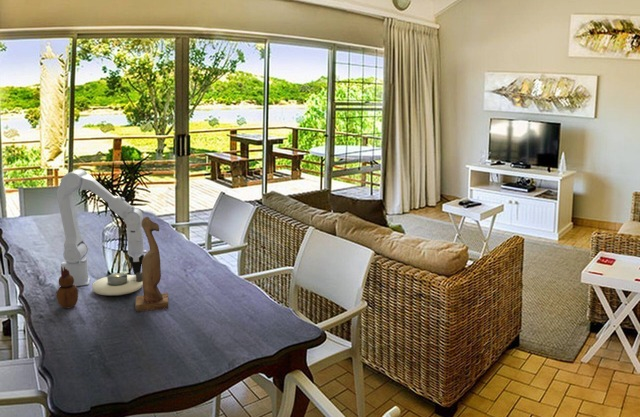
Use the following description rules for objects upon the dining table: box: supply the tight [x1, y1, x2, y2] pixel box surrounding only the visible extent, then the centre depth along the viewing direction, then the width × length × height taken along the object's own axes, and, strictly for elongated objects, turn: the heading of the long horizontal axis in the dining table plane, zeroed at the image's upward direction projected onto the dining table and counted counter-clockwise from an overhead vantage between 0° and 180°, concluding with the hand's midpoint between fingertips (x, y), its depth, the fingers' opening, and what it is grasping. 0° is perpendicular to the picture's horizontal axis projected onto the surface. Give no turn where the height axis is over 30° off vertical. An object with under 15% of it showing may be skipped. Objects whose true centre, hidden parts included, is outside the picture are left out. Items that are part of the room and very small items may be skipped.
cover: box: [106, 272, 128, 286], centre depth 217 cm, size 7×7×3 cm
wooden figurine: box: [56, 266, 79, 309], centre depth 199 cm, size 7×6×15 cm
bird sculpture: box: [134, 216, 169, 313], centre depth 200 cm, size 11×12×32 cm
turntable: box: [92, 271, 143, 296], centre depth 217 cm, size 18×18×5 cm
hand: (137, 274), depth 224 cm, fingers closed
